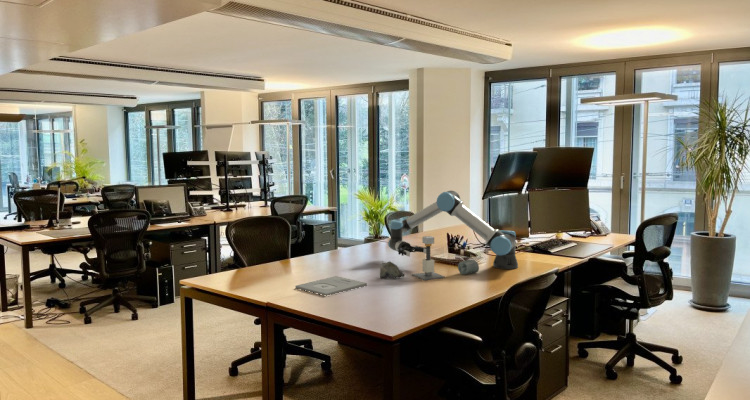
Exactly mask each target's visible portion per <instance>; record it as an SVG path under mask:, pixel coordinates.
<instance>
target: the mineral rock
mask: <svg viewBox="0 0 750 400" xmlns="http://www.w3.org/2000/svg"><path fill="white" fill-rule="evenodd" d="M404 277H406V275H405V273H404V272H403V271H402V270H400V268H399V267H398V265H396V264H394V263H393V262H391V261H387V262H382V264H381V267H380V270H379V278H380V279H400V278H404Z"/></svg>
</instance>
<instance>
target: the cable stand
mask: <svg viewBox="0 0 750 400" xmlns="http://www.w3.org/2000/svg"><path fill="white" fill-rule="evenodd" d="M421 241H422V244H424V247H426V254H425V259H426V260H430V259H431V247H432V246H433V244H435V237H434V236H432V235H429V236H428V235H427V236H422V240H421ZM411 276H412V277H415V278H416V279H417V278H418V279H420V280H422V281H429V280H437V279H445V278H446V277H445V276H444V275H442V274H441V273H437V272H435V271H434V272H429V273H426V272H418V273H412V274H411Z"/></svg>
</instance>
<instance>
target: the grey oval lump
mask: <svg viewBox="0 0 750 400" xmlns="http://www.w3.org/2000/svg"><path fill="white" fill-rule="evenodd" d="M457 269H458V272H459V274H461V275H462V276H466V275H470V274H476V273H478V272H479V270H480V267H479V263H478V262H477V261H476V260H474V259H467V260H463V261H459V263H458V264H457Z"/></svg>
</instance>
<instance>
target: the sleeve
mask: <svg viewBox="0 0 750 400" xmlns="http://www.w3.org/2000/svg"><path fill="white" fill-rule="evenodd" d="M421 260H422V261H421V264H422V269H421V271H422V273H425V272H426V273H429V272H435V259H432V258H430V260H426V258H424V259H423V258H422V259H421Z"/></svg>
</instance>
